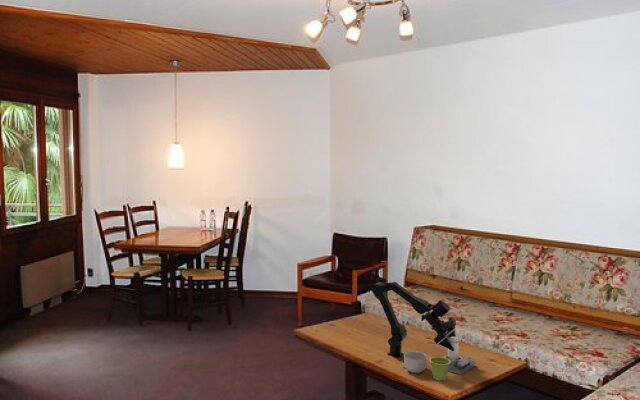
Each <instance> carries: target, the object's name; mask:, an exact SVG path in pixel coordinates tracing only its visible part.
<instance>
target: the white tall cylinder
mask: <svg viewBox="0 0 640 400" xmlns="http://www.w3.org/2000/svg"><path fill="white" fill-rule="evenodd" d="M448 340H449V342H450V343H451V345H452V346H453V348H454V351H451V350H449V349H448V348H447V355H448V359H449V360H458V358H459V356H460V353H459V352H460V345H459V344H460V338H459V337H457V336H456V337H449V338H448Z"/></svg>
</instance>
